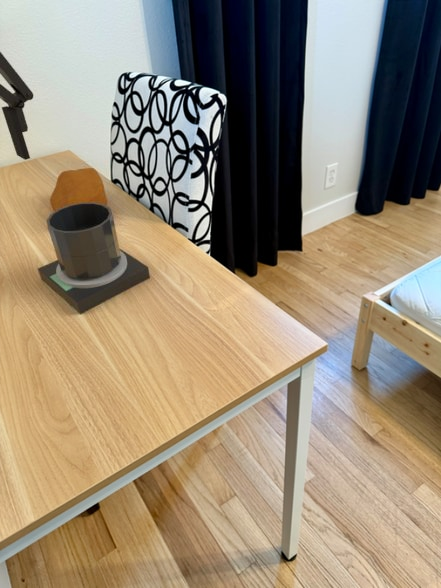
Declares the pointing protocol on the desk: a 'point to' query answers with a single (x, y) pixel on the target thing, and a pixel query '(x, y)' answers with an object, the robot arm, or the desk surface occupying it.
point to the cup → (84, 240)
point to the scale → (94, 282)
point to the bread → (78, 188)
